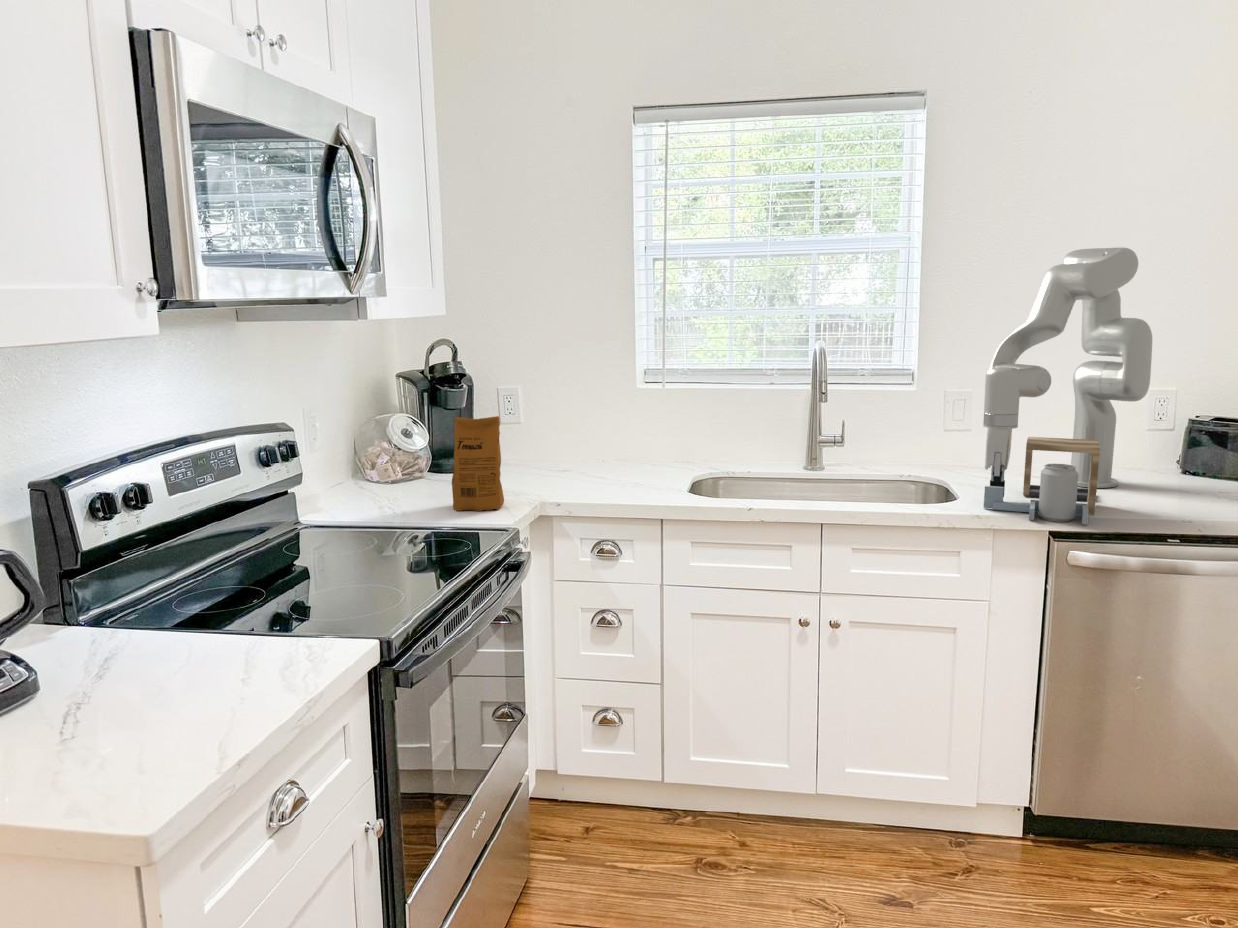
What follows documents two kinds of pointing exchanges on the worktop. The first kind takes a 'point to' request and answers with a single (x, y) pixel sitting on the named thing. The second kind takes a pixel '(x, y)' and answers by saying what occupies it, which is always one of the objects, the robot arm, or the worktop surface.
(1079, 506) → the blue-grey forked pusher
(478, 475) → the coffee package
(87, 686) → the worktop surface
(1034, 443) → the tunnel
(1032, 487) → the dark flat panel
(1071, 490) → the can
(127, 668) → the worktop surface
